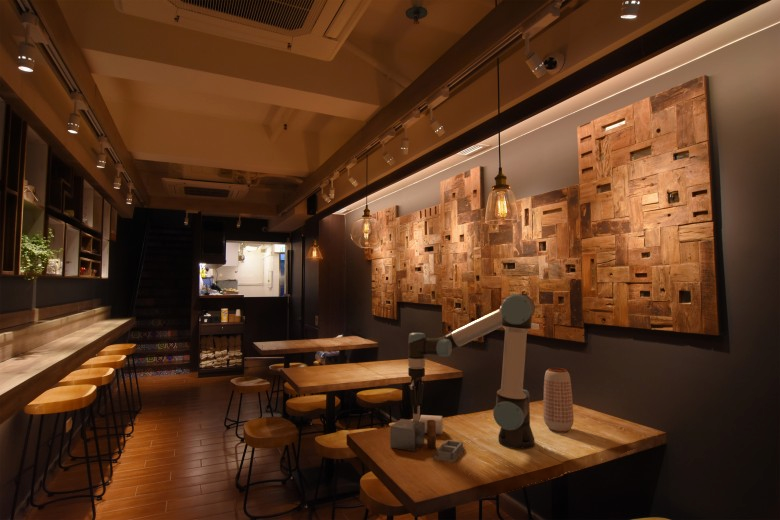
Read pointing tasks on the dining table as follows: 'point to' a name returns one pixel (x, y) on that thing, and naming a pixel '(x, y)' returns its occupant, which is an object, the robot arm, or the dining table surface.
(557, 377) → the planter
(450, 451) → the socket board
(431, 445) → the peg
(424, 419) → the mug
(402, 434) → the block
